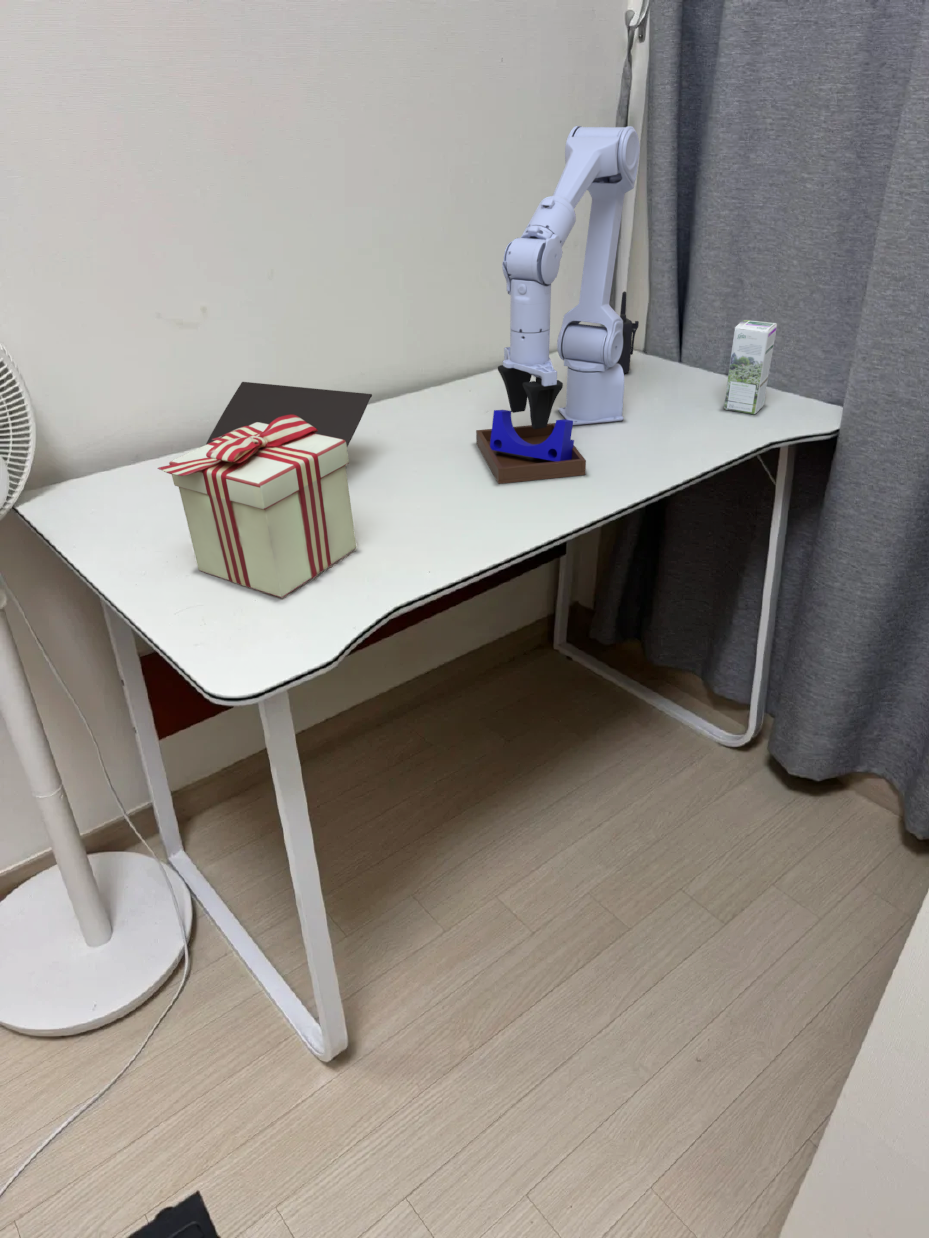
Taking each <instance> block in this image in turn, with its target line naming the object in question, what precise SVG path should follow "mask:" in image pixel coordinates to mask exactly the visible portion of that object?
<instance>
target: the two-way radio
mask: <svg viewBox="0 0 929 1238" xmlns="http://www.w3.org/2000/svg"><path fill="white" fill-rule="evenodd" d="M620 302H621V303H620V312H619V316H620V317H621V319H622V320H623V348H622V353H621V356H620V358H619V360H618V362H617V364H620V365H621V367H622V369H623V373H624V375H626V373H629V372H630V365H631V356H632V355H634V354H633V353H634V346H635V338H636V337H635V336H636V332H637V330H638V328H639V326H640V325H639V324H640V323H639V320H635V321H634V322H633V321H632V320H631V319H629V318H627V314H626V313H627V292H626V291H625V290H624V291H623V292H622V294H621V301H620Z"/></svg>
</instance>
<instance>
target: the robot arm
mask: <svg viewBox="0 0 929 1238" xmlns="http://www.w3.org/2000/svg"><path fill="white" fill-rule="evenodd" d="M640 153H641V144H640V139H639V135H638V132H637V131H636V128H635V127H634V126H632V125H629V126H628V125H627V126H623V127H622V126H582V125H575V126H573V127H572V129H571V130H570V132H569V133H568V135H567V138H566V141H565V147H564V163H565V166H564V168H563V170H562V172H561V175H560V177H559V180H558V181H557V184H556V187H555V189H554V191H553V193H552V195H550V196H546V197H544V198H543V199H541V201H540V202H539V204H538V206H537V207H536V209H535V210H534V213H533V214H532V216H531V218H530V220H529V221H528V224H527V225H526V227H525V229H524V230H523V232H522V234H521V236H520V237H516V238H514V239H513V240H512V241H510V242H509V243H508V244H507V245H506V247H505V250H504V253H503V260H502V262H501V266H502V267H501V268H502V274H503V276H504V279H505V282H506V292H507V295H509V296H510V300H509V301H510V303H509V304H510V307H509V309H510V310H509V312H510V313H509V315H510V316H509V318H510V321H509V322H510V324H509V327H510V328H509V330H510V332H509V334H510V335H509V336H510V337H509V346H507V347H504V348H503V360H502V364H501V365H498V366H497V371H498V373H499V374H500V377H501V380H502V381H503V384H504V387H505V390H506V395H507V399H508V403H509V404H508V405H509V408H510V411H511V413H512V414H514V413H522V412H525V411H526V408H527V404H528V406H529V416H530V423H531V424H530V425H532V428H533V429H540V428H546V427H547V424H549V420H550V416H551V413H552V410H553V407H554V404H555V401H556V400H557V398H558V396H559V394H560V392H561V391H562V390H563V387H564V383H563V381H561V380H559V379H558V371H557V370H556V369H555V368H554V365H553V362H552V359H551V358H550V340H551V339H550V338H551V305H552V301H551V300H552V284H553V282H554V281H555V280H556V278H557V277H558V273H559V271H560V266H561V265H560V264H561V259H562V257H563V254H564V252H563V246H564V244H565V242H566V241H567V239H568V238H569V236H570V233H571V232H572V230H573V228H574V226H575V224H576V221H577V216H576V212H575V208H576V207H577V205H578V204H579V202H580V201H581V200H582V198H583V196H584V195H585V194H586V192H587V191H588V193H589V195H590V197H591V204H590V213H589V219H588V228H587V235H586V236H587V237H586V245H585V250H584V251H585V252H584V259H583V267H582V276H581V284H580V292H579V298H578V304H577V305H575V306H574V307H572V308H571V309H570V310H568V311H567V312H566V313H564V315H563V318H562V323H561V327H560V330H559V331H558V332H559V333H558V335H557V342H556V350H557V354H558V356H559V358H560V360H562V361H563V366H564V367H566V368H567V369H566V370H567V372H566V392H565V393H566V396H565V406H563V407H559V408H558V412H559V413H560V414H561V415H562V416H563V418H564V419H566V420H572V421H573V426H579V425H589V424H600V423H612V422H621V421H624V417H623V409H624V408H623V407H624V398H625V397H624V395H625V394H624V393H625V374H624V373H623V369H622V367H621V365H620V364H617V362H618V360H619V358H620V356H621V353H622V348H623V320H622V319H621V317H620V314H618V313H617V311H615V310H614V308H612V307H611V305H610V300H611V294H612V285H613V280H614V271H615V265H616V258H617V251H618V244H619V243H618V242H619V236H620V229H621V222H622V221H621V220H622V213H623V208H624V202H625V194H626V193H628V192H630V191H632V190H633V189H635V184H636V180H637V175H638V166H639V161H640ZM582 322H583V323H592V325H591V324H583V323H582ZM593 324H599V325H593ZM600 325H603V326H600ZM532 376H533V377H534V378H535V380H531V379H532Z"/></svg>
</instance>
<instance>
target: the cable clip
mask: <svg viewBox="0 0 929 1238" xmlns="http://www.w3.org/2000/svg"><path fill="white" fill-rule="evenodd" d="M555 423H556V424H555V427H554V430H553V432H552V433H551V435H550V436H549V437H548V438H547V439H546V440H545V441H544V442H542V443H540V444H530V443H527V442H525V441H524V440H522V439H521V438H520V437H519V436H518V434H517V433H516V431H515V430H514V427H515V426H514V425H513V420H512V412H511V410H509V409H494V410H493V414H492V424H491V429H492V432H491V441H490V447H491V449H492V450H495V451H501V452H506V453H512V454H517V455H523V456H529V457H534V458H540V459H545V460H551V461H566V460H571V459H572V448H573V445H574V444H575V439H572V433H573V426H574V425H573V421H572V420H566V419H565V418H564V419H563V418H562V419H556V420H555ZM574 446H575V445H574Z"/></svg>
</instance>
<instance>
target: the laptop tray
mask: <svg viewBox="0 0 929 1238" xmlns="http://www.w3.org/2000/svg"><path fill="white" fill-rule="evenodd" d="M372 397H373V394H372V393H366V392H354V391H344V390H333V389H324V388H313V387H312V388H311V387H302V386H293V385H292V386H291V385H281V384H270V383H260V382H252V381H251V382H249V381H241V383H240V384H239V386H238V387H237V389H236V391H235V392H234V394H233V395H232V397H231V398H230V400H229V402H228V403H227V406H226V407H225V409H224V410H223V412H222V414H221V416H220V418H219V419H218V421H217V423H216V424H215V426H214V428H213V430H212V432H211V434H210V435H209V437H208V439H207V441H206V443H205V445H207V444H209V443H211V442H213V441H215V440H212V439H214V438H217V437H221V436H222V435H224V434H227V433H229V432H231V431H233V430H236V429H238V428H241V427H244V426H249V425H251V424H253V423H256V422H259V423H265V424H270V423H271V422H272V421H274V420H275V419H277V418H278V417H282V416H286V415H292V414H293V415H296V416H298V417H300V418H301V419H302V420H304V421H305V422H307V423H308V424H310V425H311V426H313V427H314V428H316V429H317V430H318V431H317V432H315V434H319V435H324V436H328V437H333V438H338V439H343V440H345V441H346V445H347V448H348V447H349V445H350V443H351V441H352V439H353V437H354V435H355V433H356V431H357V429H358V427H359V424H360V422H361V420H362V418H363V416H364V413H365V412H366V409H367V406H368V404H369V402H370V400H371V398H372Z"/></svg>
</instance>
